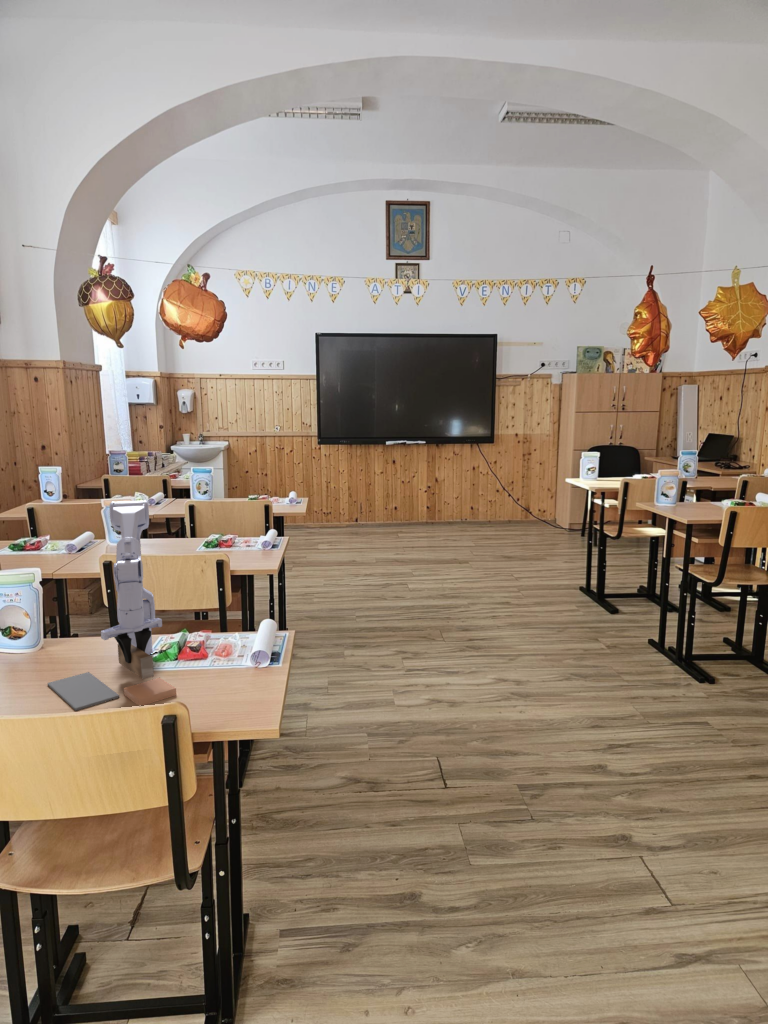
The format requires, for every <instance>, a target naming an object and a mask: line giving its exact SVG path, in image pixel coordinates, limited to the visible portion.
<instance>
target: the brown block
mask: <svg viewBox="0 0 768 1024" xmlns="http://www.w3.org/2000/svg"><path fill="white" fill-rule="evenodd" d="M117 653H118V654H117V656H118V664H120V665H121V666H123V667H124V668H126V669H127V670H129V671H130V672H132V673H133V674H135V675H136V676H138V677H139V678H141V679H142V680H146V679H149V678H153V677H155V676H154V675H155V673H154V660H153V658H154V657H153V656H152V655H149V654H147V653H145V652H144V651H142V650H140V649H139V648H137V647H135V646H133V645H132V644H131V663H127V662H126V661H125V658H124V655H123V652H122V650H121V648H120V646H119V644H118V643H117Z"/></svg>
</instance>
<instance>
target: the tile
mask: <svg viewBox="0 0 768 1024" xmlns="http://www.w3.org/2000/svg"><path fill="white" fill-rule="evenodd" d="M123 695H124V696H125V697H126V698H128V699H129V700H130V699H131V700H130V701H132V702H133V703H134V704H136V705H137V706H138V705H143V706H146V705H150V704H152V703H156V702H158V701H162V700H165V699H167V698H168V699H169V698H171V697H174V696H177V687H175V686H173V685H172V684H170V683H169V682H167V681H166V680H164V679H163V678H161V677H157V678H153V679H150V680H146V681H143V682H139V683H136V684H133V685H129V686H127V687H123Z"/></svg>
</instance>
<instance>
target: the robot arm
mask: <svg viewBox="0 0 768 1024" xmlns="http://www.w3.org/2000/svg"><path fill="white" fill-rule="evenodd" d="M149 512H150V510H149V501H148V500H147V499H143V500H122V501H121V500H118V501H114V500H112V501H111V502H110V503H109V517H110V518H109V519H110V523H111V526H112V528H113V529H114V530H115V531H118V532H120V535H121V536H120V537H121V539H119V540H118V541H117V544H116V554H115V555H116V556H115V557H116V559H115V562H114V563H113V580H114V585H115V590H116V592H117V601H116V602H117V604H116V612H117V622H118V623H119V624H117V625H114V626H112V627H109V628H106V629H103V630H101V631H100V638H101V640H103V641H107V640H109V639H111V638H114V639H115V641H116V642H117V645H118V644H119V646H120V648H121V650H122V652H123V655H124V658H125V661H126V662H127V663H131V644H132V645H133V646H135V647H137V648H139V649H140V650H142V651H144V652H145V653H147V654H149V655H150V654H151V653H153V652H154V651H153V650H154V649H155V648H154V647H153V638H152V637H153V636H152V634H153V633H152V629H153V628H162V627H163V620H162V618H159V617H156V606H155V605H156V604H155V596H154V594H153V592H152V591H150V590H149V589H146V588H145V587H144V566H143V565H144V564H143V561H142V550H141V549H142V548H141V547H142V546H141V545H142V544H141V536H142V532H143V530H146V529H148V528H149V525H150V513H149ZM150 656H151V655H150Z"/></svg>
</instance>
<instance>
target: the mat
mask: <svg viewBox="0 0 768 1024" xmlns="http://www.w3.org/2000/svg"><path fill="white" fill-rule="evenodd" d="M47 686H48V687H49V688H50V689H51V690H52V691H53V692H54V693H56V694H57V695H58V696H59V697H60V698H61V699H62V700H63V701H64V702H65V703H67V705H68V706H70V708H72V709H73V710H74V711H79V710H83V709H86V708H89V707H92V706H96V705H99V704H102V703H106V702H109V700H110V701H113V700H116V699H119V698H120V694H118V693H117V692H116V691H114V690H113V689H112V688H111V687H109V686H108V685H106V684H105V683H104V682H103V681H101V680H100V679H99V678H97V677H96V676H95V675H93V674H92V673H90V672H89V671H87V672H84V673H79V674H77V675H76V674H75V675H72V676H69V677H68V676H67V677H65V678H64V677H63V678H61V679H57V680H53V681H50V682H47ZM118 697H119V698H118ZM112 699H113V700H112ZM105 701H106V702H105Z"/></svg>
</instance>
